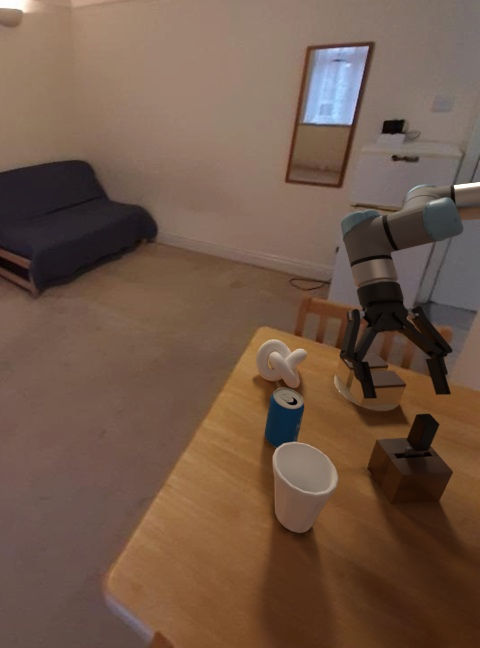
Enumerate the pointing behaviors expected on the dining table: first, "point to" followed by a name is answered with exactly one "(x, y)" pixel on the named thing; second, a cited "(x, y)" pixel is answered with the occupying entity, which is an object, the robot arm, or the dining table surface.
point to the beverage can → (284, 417)
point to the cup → (301, 484)
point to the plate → (347, 395)
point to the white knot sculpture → (279, 362)
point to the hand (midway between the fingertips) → (407, 396)
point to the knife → (421, 435)
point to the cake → (384, 381)
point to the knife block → (408, 472)
